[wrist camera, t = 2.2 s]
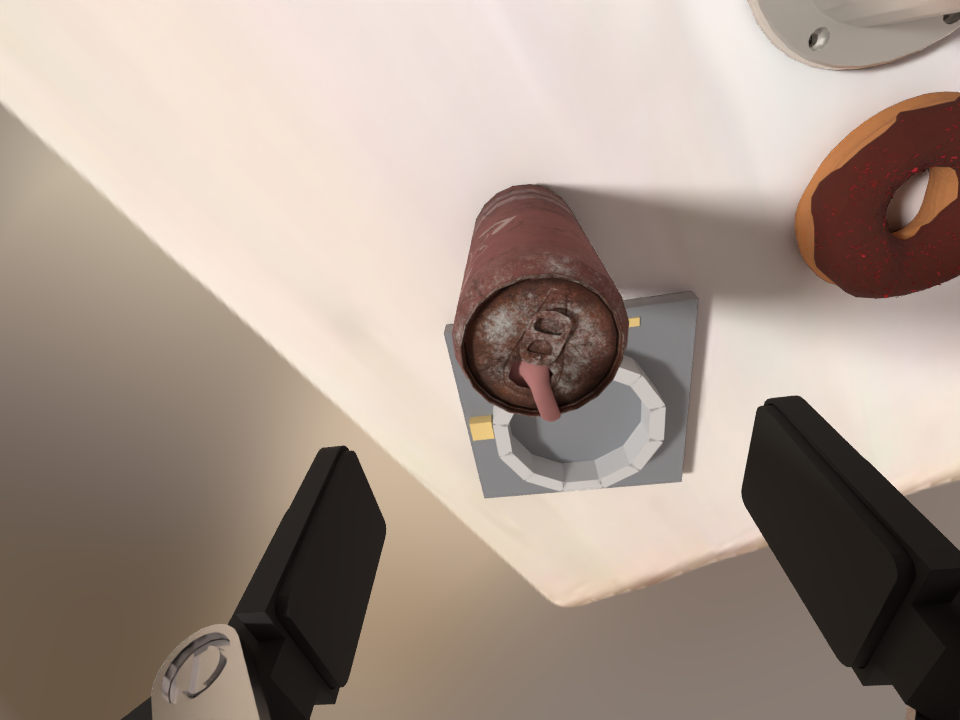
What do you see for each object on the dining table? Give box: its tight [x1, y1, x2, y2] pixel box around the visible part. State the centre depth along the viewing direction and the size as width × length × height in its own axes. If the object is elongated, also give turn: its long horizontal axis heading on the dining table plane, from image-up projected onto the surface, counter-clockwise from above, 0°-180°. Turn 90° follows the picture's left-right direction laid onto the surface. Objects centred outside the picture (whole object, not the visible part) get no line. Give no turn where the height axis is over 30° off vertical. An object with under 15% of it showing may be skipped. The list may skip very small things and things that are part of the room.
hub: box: [444, 291, 698, 498], centre depth 31 cm, size 16×16×3 cm
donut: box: [795, 92, 960, 298], centre depth 23 cm, size 10×10×4 cm
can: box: [452, 184, 629, 422], centre depth 20 cm, size 6×6×14 cm
